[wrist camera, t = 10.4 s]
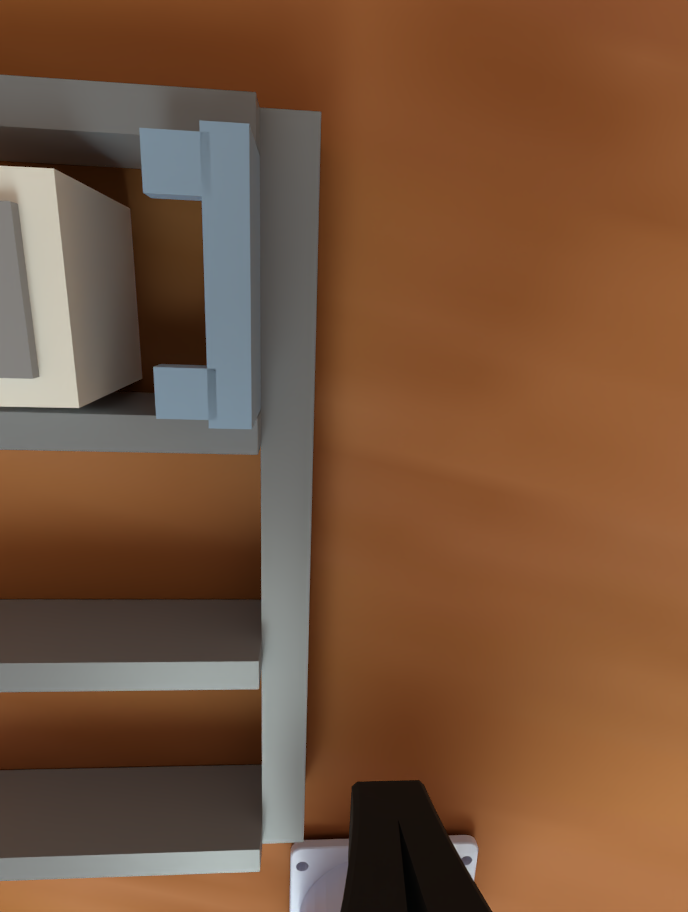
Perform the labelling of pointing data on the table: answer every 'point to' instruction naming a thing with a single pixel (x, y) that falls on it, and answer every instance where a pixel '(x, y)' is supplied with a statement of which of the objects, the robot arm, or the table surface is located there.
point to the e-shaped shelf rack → (182, 431)
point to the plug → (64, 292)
